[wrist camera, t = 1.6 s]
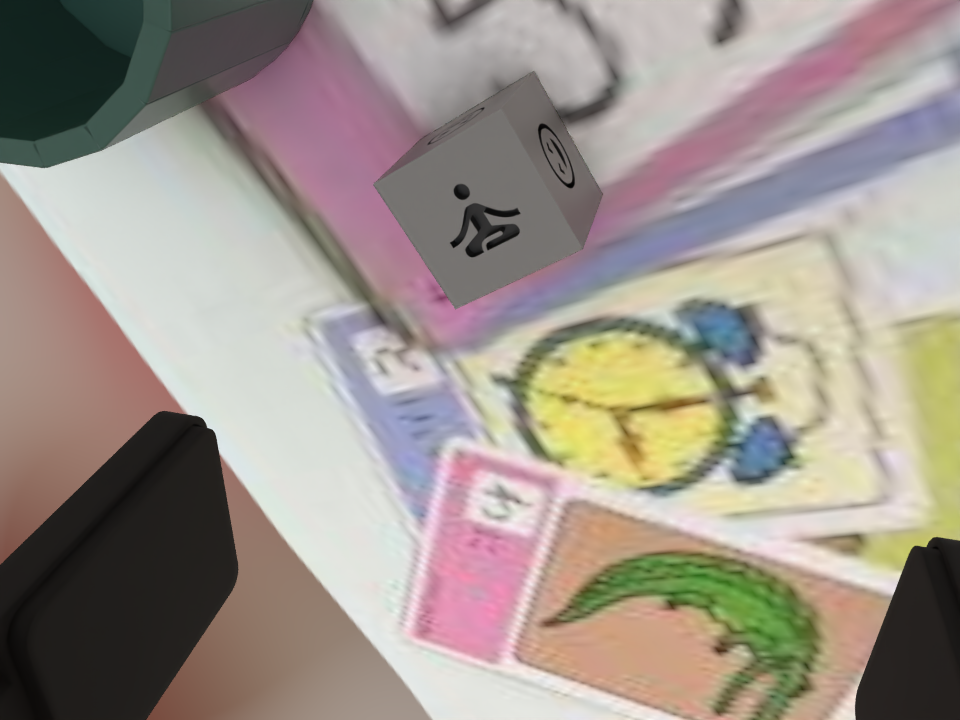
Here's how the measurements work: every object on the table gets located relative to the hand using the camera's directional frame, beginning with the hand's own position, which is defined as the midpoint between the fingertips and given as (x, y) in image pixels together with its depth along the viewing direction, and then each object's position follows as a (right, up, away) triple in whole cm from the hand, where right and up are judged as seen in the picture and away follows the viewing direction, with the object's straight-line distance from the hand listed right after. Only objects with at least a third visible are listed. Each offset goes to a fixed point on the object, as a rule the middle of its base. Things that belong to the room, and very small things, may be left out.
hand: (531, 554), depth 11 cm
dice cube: (+1, +10, +19) cm, 22 cm away
